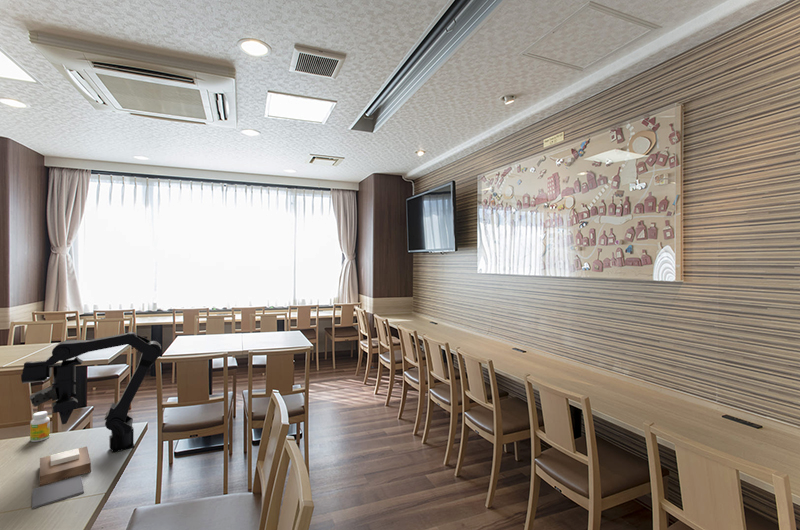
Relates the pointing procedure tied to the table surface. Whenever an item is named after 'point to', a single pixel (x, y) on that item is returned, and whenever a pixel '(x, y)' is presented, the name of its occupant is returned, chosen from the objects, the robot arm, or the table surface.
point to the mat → (57, 491)
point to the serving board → (64, 468)
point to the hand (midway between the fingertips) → (64, 423)
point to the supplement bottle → (39, 426)
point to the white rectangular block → (64, 456)
